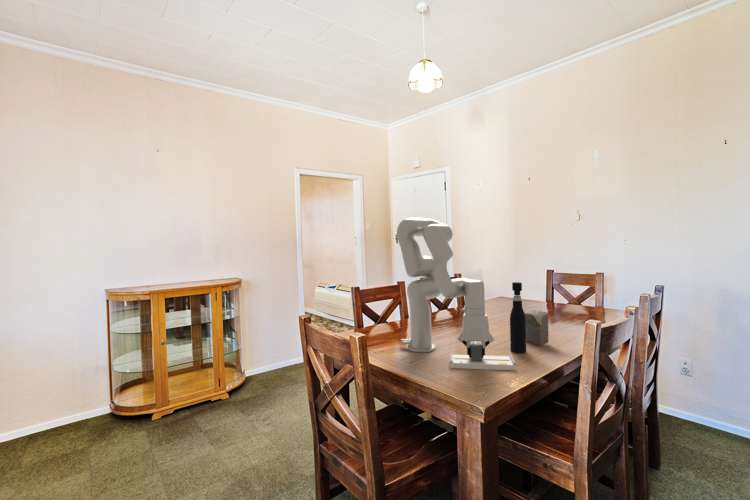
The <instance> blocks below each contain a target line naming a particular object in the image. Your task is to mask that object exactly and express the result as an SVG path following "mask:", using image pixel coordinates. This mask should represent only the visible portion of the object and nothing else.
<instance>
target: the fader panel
mask: <svg viewBox="0 0 750 500" xmlns="http://www.w3.org/2000/svg"><path fill="white" fill-rule="evenodd" d="M449 356H450V362H449V363H450V369H466V370H467V369H468V370H469V369H470V370H473V369H474V370H493V371H495V370H497V371H498V370H499V371H516V370H517V363H516V361H515V359H514V357H513V355H512V354H510V353H509V354H508V355H507V356H506V355H485V356H483V358H482V361H471V358H469V355H467V354H453V352H450V355H449Z"/></svg>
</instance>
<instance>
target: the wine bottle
mask: <svg viewBox="0 0 750 500" xmlns="http://www.w3.org/2000/svg"><path fill="white" fill-rule="evenodd" d="M522 284H523V283H522V282H518V281H517V282H512V283H511V285H512V286H511V287H512V288H511V289H512V291H513V297H512V299H513V300H512V308H511V311H510V314H509V337H510V339H509V341H510V352H511V353H513V354H517V355H518V354H520V355H522V354H526V353H527V340H526V319H525V314H524V312H525V311H524V309H523V300H522V296H521V292H522V290H523V285H522Z"/></svg>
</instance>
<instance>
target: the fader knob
mask: <svg viewBox="0 0 750 500" xmlns="http://www.w3.org/2000/svg"><path fill="white" fill-rule="evenodd" d="M481 345H482V343H481V341H471V342H470V347H471V361H482V346H481Z"/></svg>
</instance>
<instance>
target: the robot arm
mask: <svg viewBox="0 0 750 500" xmlns="http://www.w3.org/2000/svg"><path fill="white" fill-rule="evenodd" d="M414 237H422V238H423V240H424V241H425V244H426V246H427V248H428V251H429V252H430V254H431V256H432V257H431V256H429V255H422V253H421V249H420V246H419V243H418V242H417V240H416V239H415V238H414ZM396 239H397V241H398V244H399V247H400V251H401V255H402V259H403V263H404V268H405V272H406V275H407V276H408V277H410V278H420V277H422V279H421V278H420V279H416V280H412V281H411V282H410V283H409V284H408V285H407V288H406V295H407V299H408V302H409V303H408V304H409V320H410V323H409V324H410V338H408V339H407V338H401V344H403V345H407V350H409V351H410V352H415V353H431V352H433V351H435V349H436V345H435V343H434V344H433V342H432V341H433V339H432V311H431V310H432V309H431V306H430V304H429V302H428V300H432V299H436V298H438V297H439V296H440V295H442V296H443V298H446V299H448V300H449V299H456V298H460V297H464V307H463V308H461V309H460V310H461V312H463V317H462V327H461V328H462V329H461V332H460V334H459V335H458V337H457V340H458V341H459V342H460V343H462V344H463V345H464V346H465V347H466V355H469V358H471V347H470V342H471V341H476V342H481V346H482V358H483V356H486V348H487V346H489V344H491V343H493V342H495V338H494V337H493V336H492V334H491V333H490V325H489V319H488V315H487V313H486V308H485V307H486V305H485V302H486V301H485V283H484V281H483V280H480V279H469V278H465V277H457V278H452V279H451V276H450V274H449V271H448V268H447V267H448V266H447V265H448V262H449V261H450V259H452V258H453V256H454V252H453V250H452V248H451V246H450V244H449V242H450V241H451V240H452V239H453V230H452V229H451V227H450V225H448V224H445V223H443V222H440V221H437V220H435V219H431V218H426V217H409V218H405V219H402V220H401V221H400V222H399V223H398V226H397V229H396Z"/></svg>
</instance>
